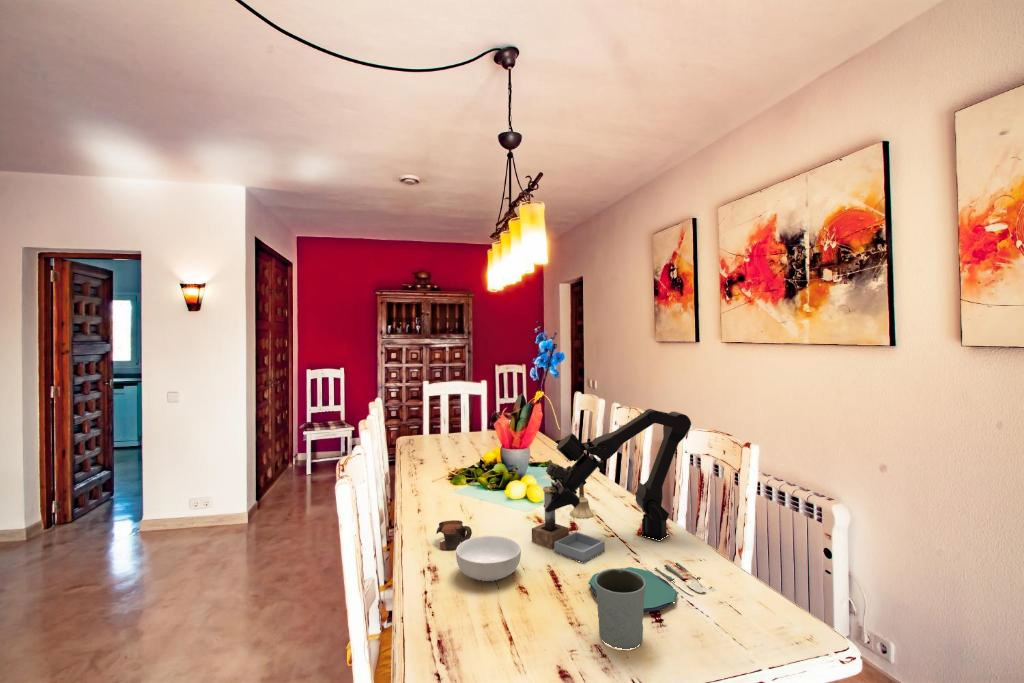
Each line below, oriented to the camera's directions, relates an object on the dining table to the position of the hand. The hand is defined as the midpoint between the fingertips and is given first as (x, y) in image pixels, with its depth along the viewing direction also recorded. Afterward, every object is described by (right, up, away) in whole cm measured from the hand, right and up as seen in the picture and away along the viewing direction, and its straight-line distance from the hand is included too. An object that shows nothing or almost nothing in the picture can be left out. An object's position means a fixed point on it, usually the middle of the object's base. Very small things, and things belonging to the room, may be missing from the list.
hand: (545, 509), depth 148 cm
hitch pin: (+1, -7, 0) cm, 7 cm away
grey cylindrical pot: (+12, -10, -49) cm, 51 cm away
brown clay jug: (-28, -11, -1) cm, 29 cm away
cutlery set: (+23, -10, -29) cm, 39 cm away
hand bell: (+14, -10, +23) cm, 29 cm away
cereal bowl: (-16, -10, -20) cm, 28 cm away
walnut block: (+2, -10, 0) cm, 10 cm away
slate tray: (+9, -10, -8) cm, 15 cm away
